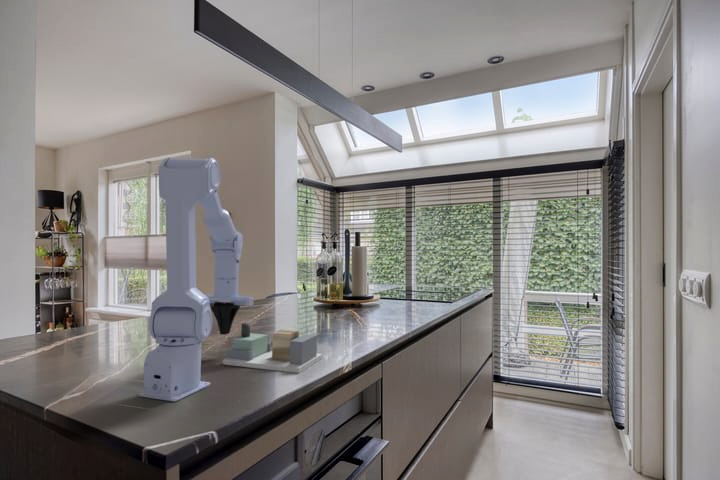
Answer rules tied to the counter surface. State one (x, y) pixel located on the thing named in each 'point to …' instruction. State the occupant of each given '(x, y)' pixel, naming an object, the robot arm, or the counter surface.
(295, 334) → the block
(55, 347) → the counter surface
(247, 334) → the mint block with peg
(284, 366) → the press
